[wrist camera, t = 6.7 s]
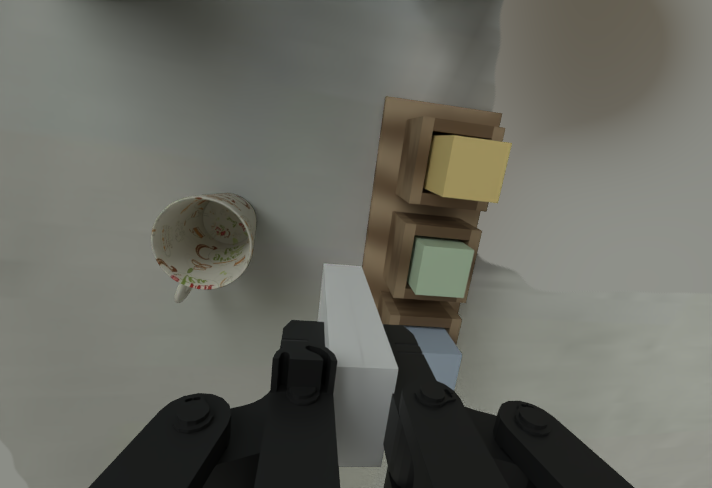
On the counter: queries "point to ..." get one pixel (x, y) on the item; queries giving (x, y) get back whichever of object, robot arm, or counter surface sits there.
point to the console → (418, 209)
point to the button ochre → (466, 167)
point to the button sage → (439, 266)
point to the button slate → (438, 352)
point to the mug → (204, 241)
